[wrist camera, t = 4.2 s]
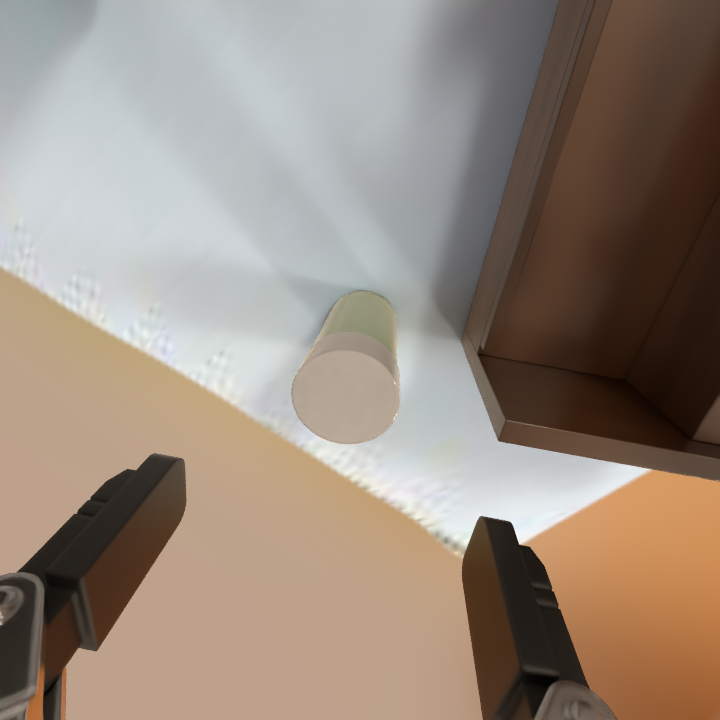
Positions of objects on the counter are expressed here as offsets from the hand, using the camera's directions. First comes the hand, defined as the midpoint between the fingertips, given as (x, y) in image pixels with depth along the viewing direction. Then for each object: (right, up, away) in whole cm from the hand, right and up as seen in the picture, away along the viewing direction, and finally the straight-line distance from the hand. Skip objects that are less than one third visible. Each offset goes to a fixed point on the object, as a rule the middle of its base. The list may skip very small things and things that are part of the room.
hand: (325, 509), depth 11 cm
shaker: (+1, +6, +13) cm, 15 cm away
